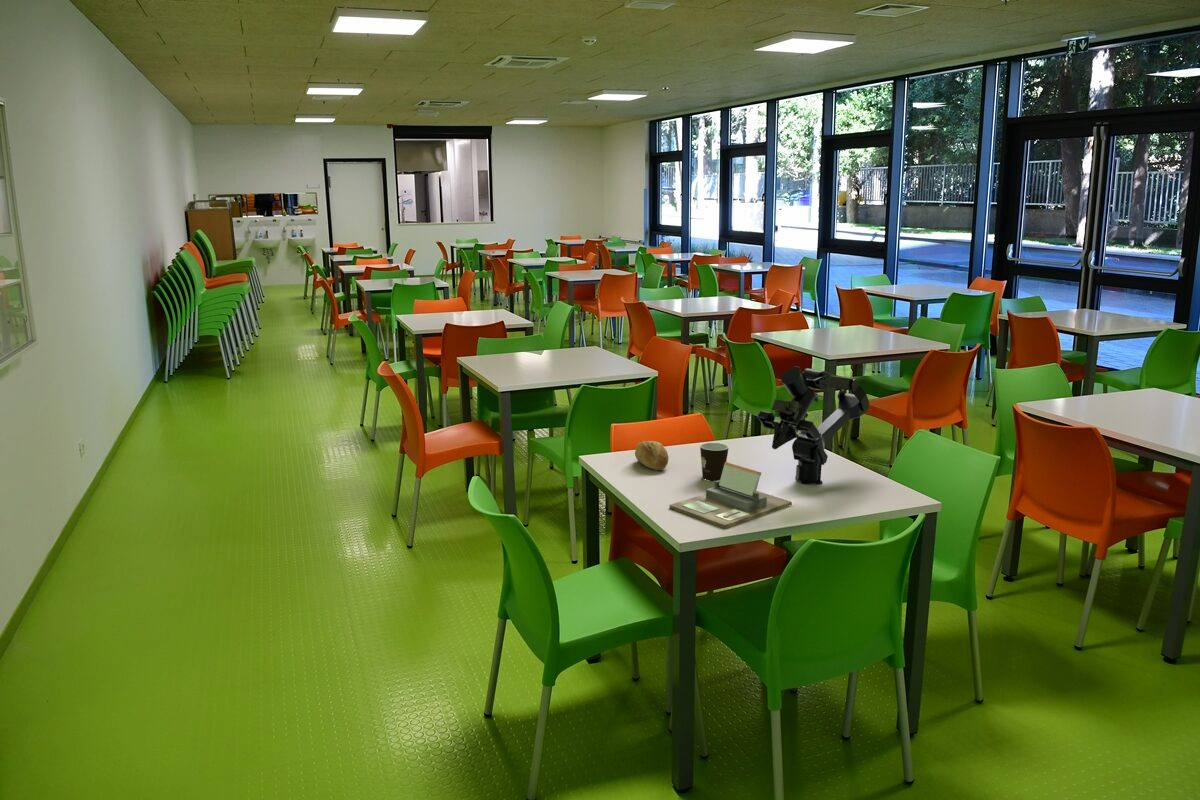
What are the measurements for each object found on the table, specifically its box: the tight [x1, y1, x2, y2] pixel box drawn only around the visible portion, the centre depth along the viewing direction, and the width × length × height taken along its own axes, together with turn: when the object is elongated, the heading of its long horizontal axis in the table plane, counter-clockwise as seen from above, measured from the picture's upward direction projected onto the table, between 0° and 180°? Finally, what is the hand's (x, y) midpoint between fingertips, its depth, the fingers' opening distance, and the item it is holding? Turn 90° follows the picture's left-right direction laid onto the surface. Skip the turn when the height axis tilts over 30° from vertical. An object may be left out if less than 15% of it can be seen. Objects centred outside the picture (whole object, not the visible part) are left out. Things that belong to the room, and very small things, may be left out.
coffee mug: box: [699, 442, 729, 482], centre depth 265 cm, size 12×9×10 cm
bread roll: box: [634, 440, 670, 471], centre depth 276 cm, size 10×15×8 cm, turn 21°
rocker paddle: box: [718, 461, 762, 498], centre depth 240 cm, size 1×13×7 cm, turn 41°
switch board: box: [668, 480, 793, 529], centre depth 239 cm, size 28×20×5 cm
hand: (773, 448), depth 248 cm, fingers closed
